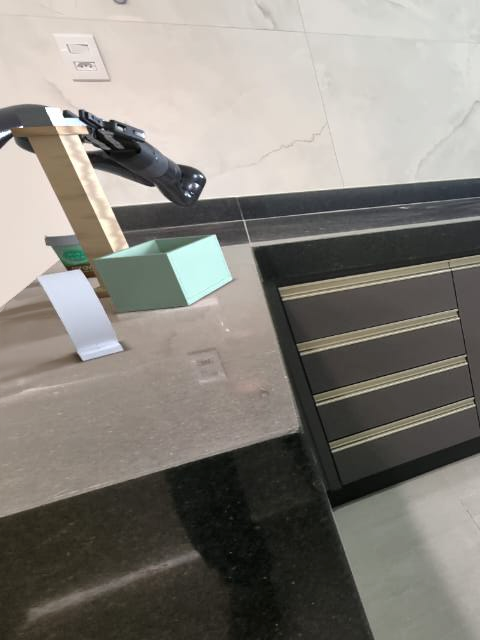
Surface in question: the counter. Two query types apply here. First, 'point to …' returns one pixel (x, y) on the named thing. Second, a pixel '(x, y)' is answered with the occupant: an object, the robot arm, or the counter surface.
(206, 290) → the bin
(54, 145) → the wooden stand
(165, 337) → the counter surface
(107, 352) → the white curved stand
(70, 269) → the food container
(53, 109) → the grey and white block
